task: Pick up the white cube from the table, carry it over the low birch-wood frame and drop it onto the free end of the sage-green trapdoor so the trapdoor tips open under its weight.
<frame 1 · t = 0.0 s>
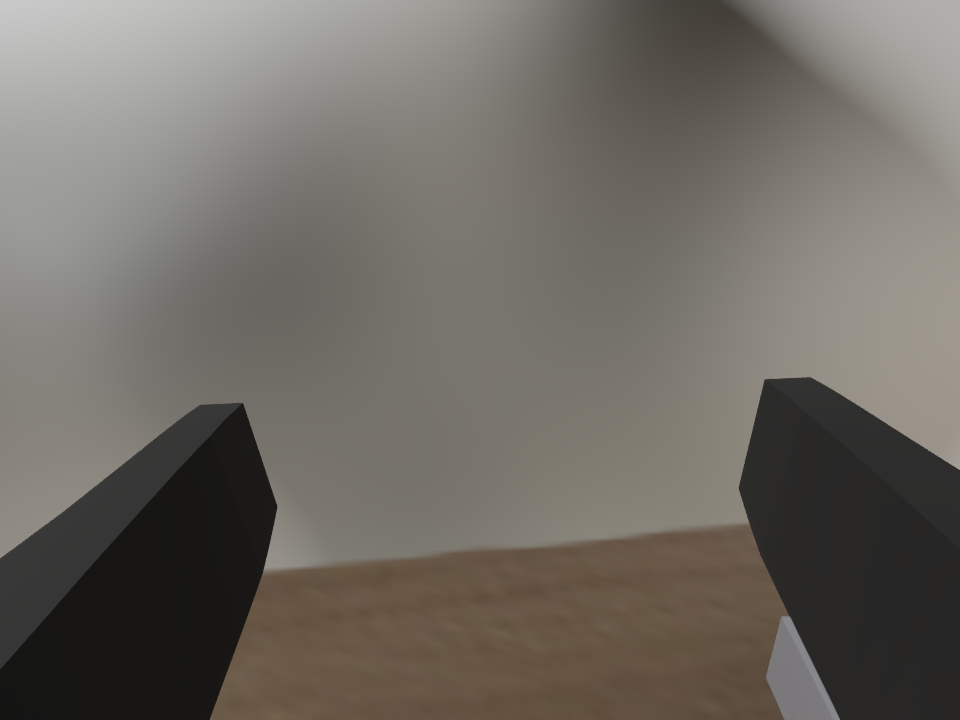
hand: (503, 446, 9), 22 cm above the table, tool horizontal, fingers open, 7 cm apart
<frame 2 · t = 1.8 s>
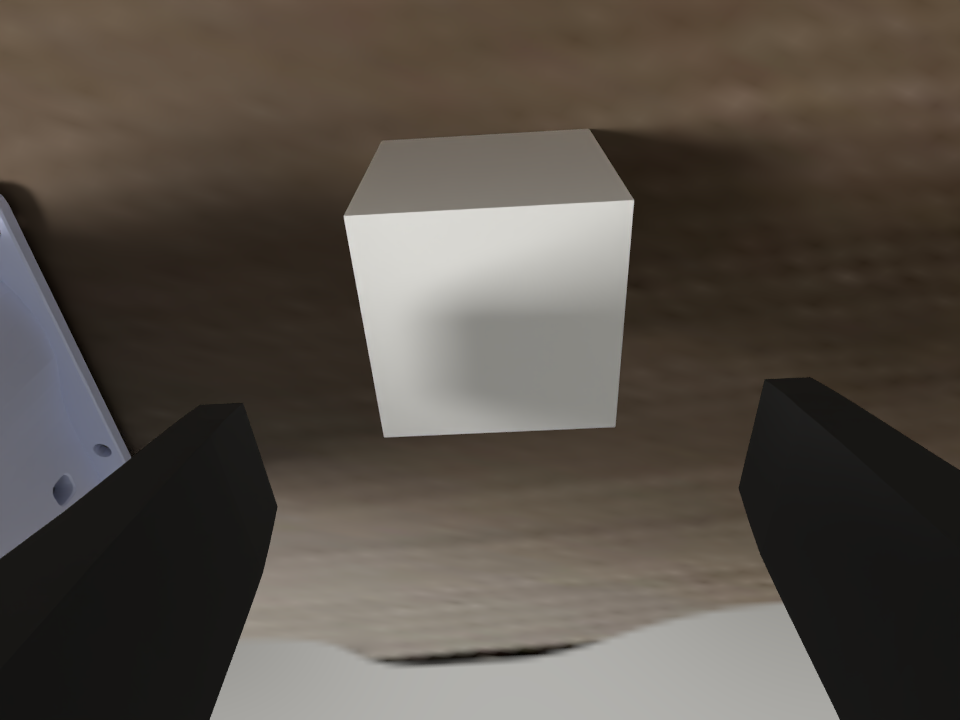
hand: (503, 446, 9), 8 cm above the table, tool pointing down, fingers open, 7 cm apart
white cube: (489, 231, 16), on the table
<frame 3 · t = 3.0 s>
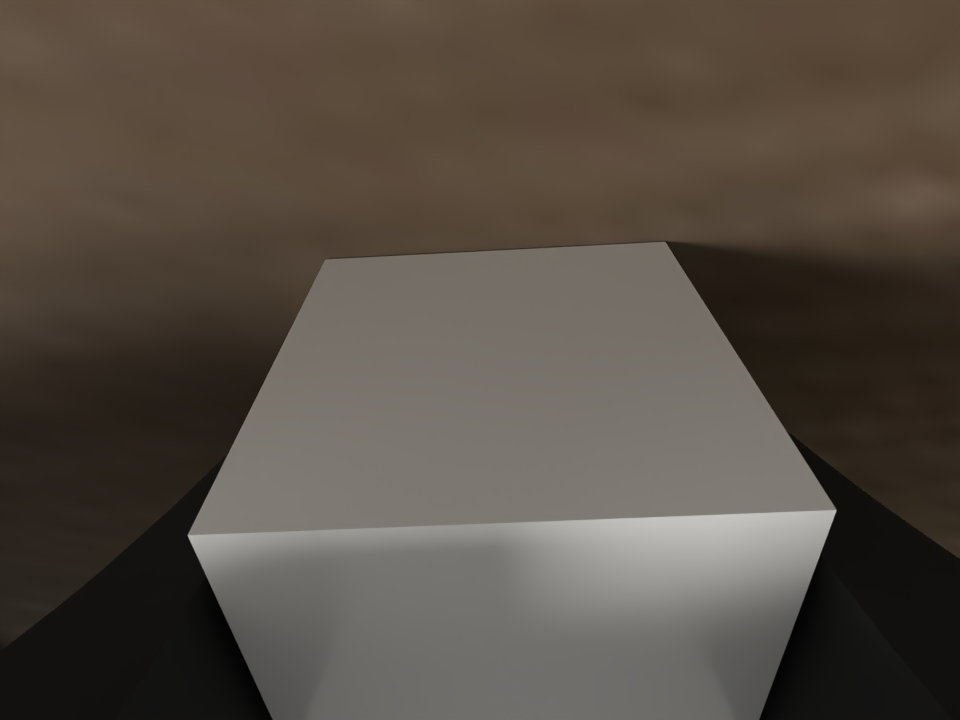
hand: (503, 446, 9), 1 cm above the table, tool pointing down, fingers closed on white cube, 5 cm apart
white cube: (500, 388, 10), on the table, touching gripper
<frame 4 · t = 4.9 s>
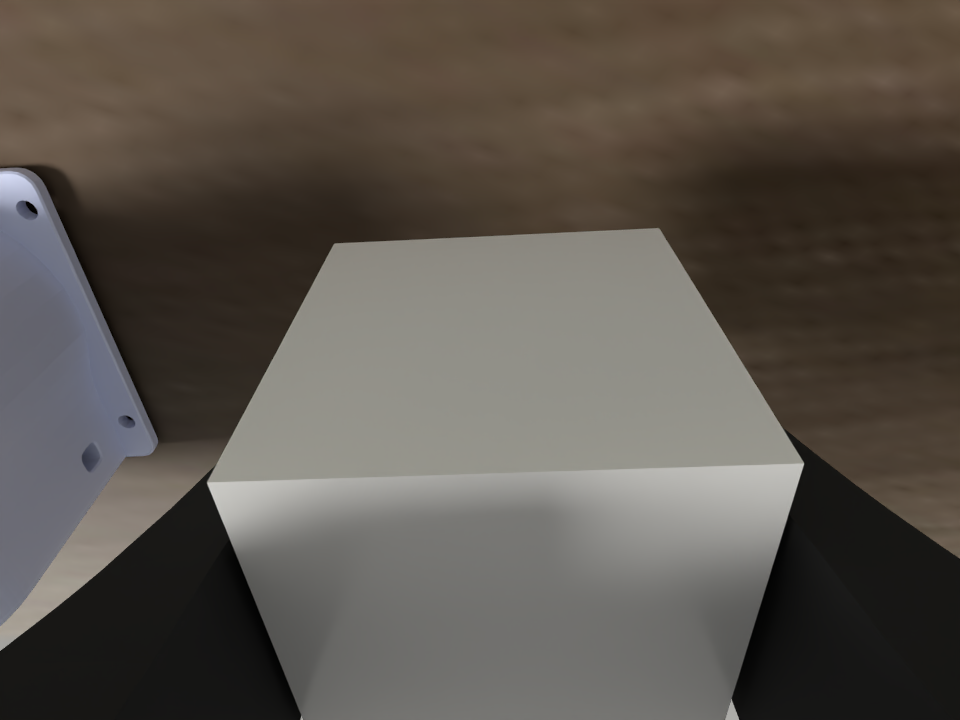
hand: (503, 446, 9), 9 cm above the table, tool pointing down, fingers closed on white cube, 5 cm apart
white cube: (500, 370, 10), point 7 cm above the table, touching gripper
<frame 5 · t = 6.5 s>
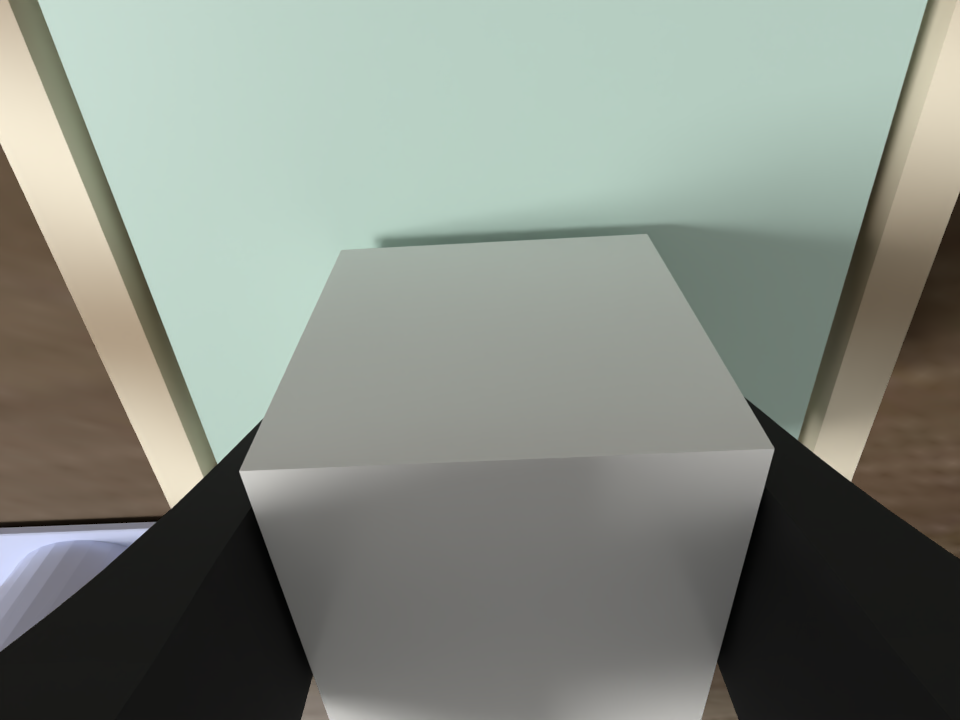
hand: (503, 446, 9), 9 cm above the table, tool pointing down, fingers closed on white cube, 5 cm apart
white cube: (498, 368, 11), point 7 cm above the table, touching gripper
trapdoor: (484, 41, 9), point 5 cm above the table, hinge at 0.0°
when the fingers open (9 cm above the table, at t = 7.0 s): white cube drops 2 cm, resting on trapdoor.
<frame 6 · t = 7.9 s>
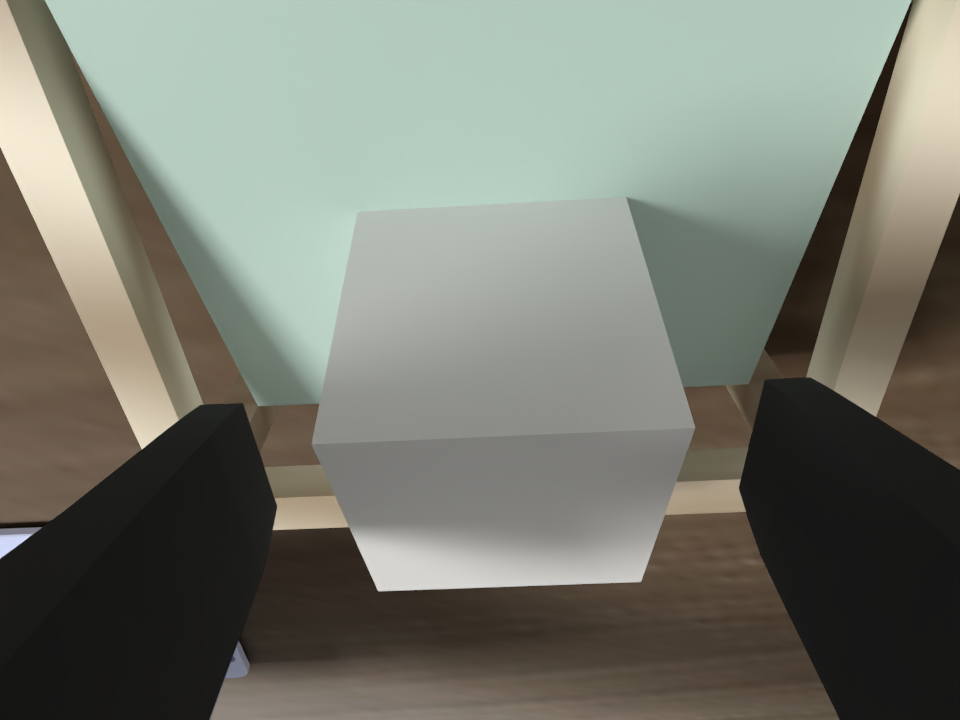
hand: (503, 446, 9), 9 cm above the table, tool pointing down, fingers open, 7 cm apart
white cube: (495, 302, 13), point 4 cm above the table, tilted 15°, touching trapdoor
trapdoor: (483, 34, 9), point 5 cm above the table, hinge at -15.0°, touching white cube
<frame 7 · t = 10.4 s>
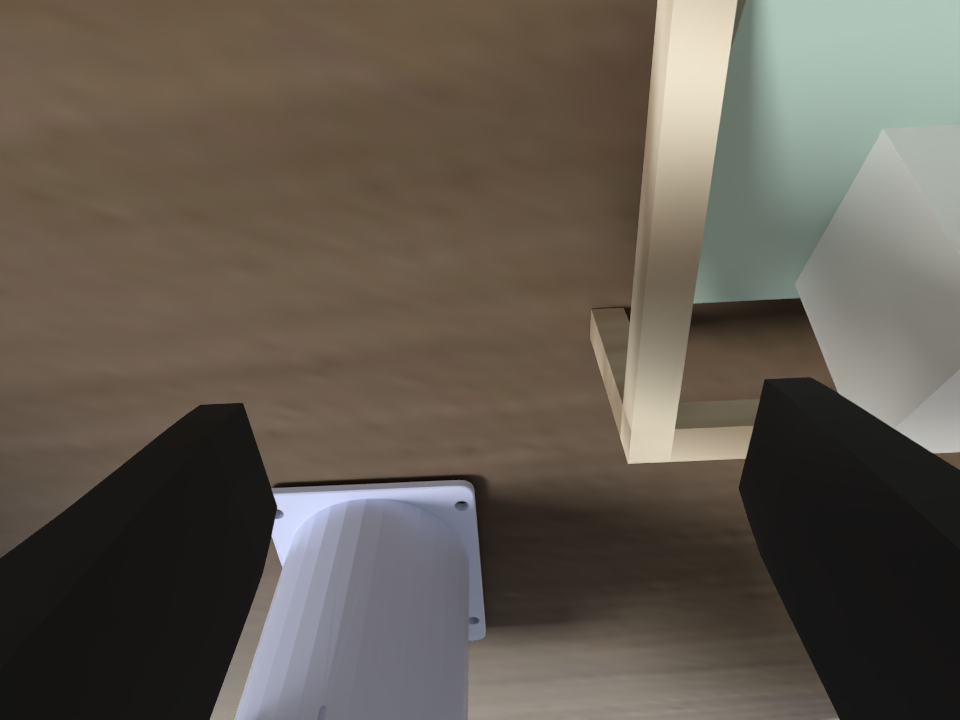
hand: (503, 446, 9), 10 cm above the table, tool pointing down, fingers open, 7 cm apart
white cube: (937, 211, 14), point 3 cm above the table, tilted 24°, touching trapdoor, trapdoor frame
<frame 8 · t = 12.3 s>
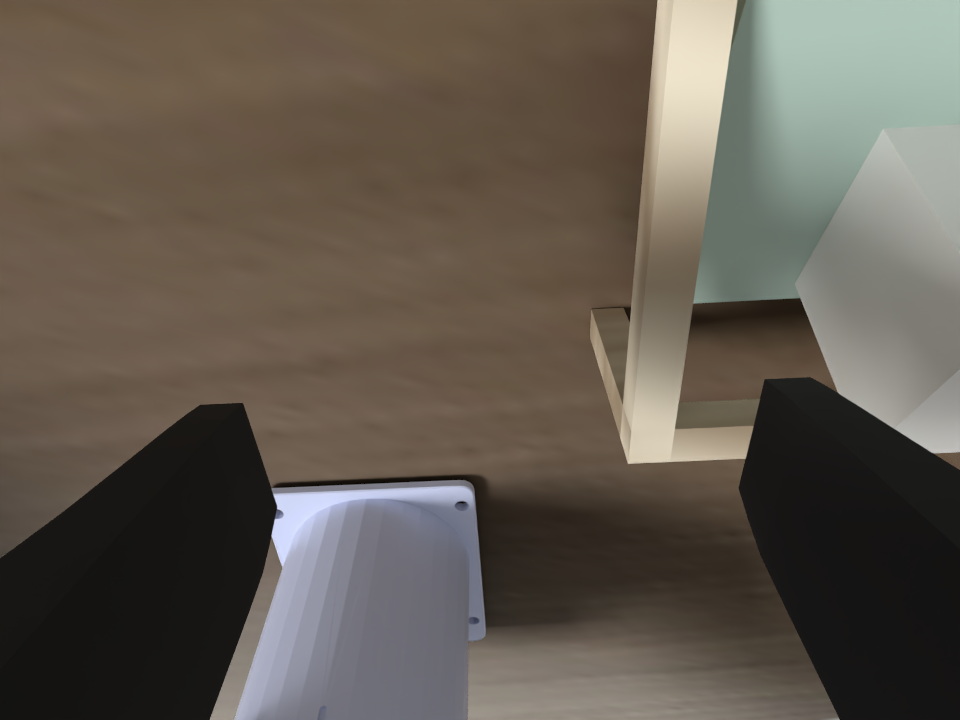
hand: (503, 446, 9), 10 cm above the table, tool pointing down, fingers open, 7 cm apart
white cube: (937, 211, 14), point 3 cm above the table, tilted 24°, touching trapdoor, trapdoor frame
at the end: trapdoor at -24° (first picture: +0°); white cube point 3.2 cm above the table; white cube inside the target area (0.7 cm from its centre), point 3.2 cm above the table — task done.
